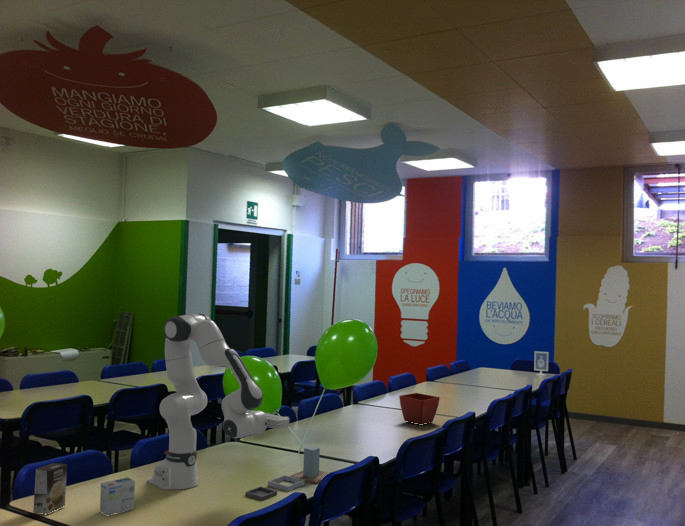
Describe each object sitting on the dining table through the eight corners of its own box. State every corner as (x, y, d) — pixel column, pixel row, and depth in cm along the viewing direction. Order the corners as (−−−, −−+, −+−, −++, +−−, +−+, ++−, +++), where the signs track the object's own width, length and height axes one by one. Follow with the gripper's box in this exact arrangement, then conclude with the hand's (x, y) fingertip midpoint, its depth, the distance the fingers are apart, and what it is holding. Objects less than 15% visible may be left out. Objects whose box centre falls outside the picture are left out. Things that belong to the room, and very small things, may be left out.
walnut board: (290, 477, 272) (290, 475, 272) (309, 470, 283) (309, 468, 283) (315, 484, 264) (315, 481, 264) (334, 476, 275) (334, 474, 275)
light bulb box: (126, 505, 233) (127, 476, 233) (134, 510, 228) (136, 480, 229) (98, 511, 225) (100, 482, 226) (106, 517, 221) (107, 486, 221)
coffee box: (47, 516, 220) (49, 470, 220) (32, 513, 222) (34, 468, 222) (65, 507, 229) (67, 464, 229) (51, 505, 230) (53, 462, 231)
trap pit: (245, 495, 247) (245, 492, 247) (260, 490, 254) (260, 486, 254) (262, 500, 242) (262, 496, 242) (276, 494, 249) (277, 490, 249)
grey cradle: (267, 485, 260) (268, 481, 260) (284, 479, 269) (284, 474, 269) (288, 491, 254) (288, 486, 254) (304, 484, 263) (304, 479, 263)
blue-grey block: (303, 475, 272) (304, 448, 273) (310, 473, 276) (310, 446, 277) (312, 477, 269) (313, 450, 270) (318, 475, 273) (319, 448, 274)
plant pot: (439, 423, 391) (440, 396, 392) (422, 427, 377) (422, 400, 378) (415, 418, 404) (416, 392, 405) (397, 422, 390) (398, 395, 391)
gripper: (277, 418, 243) (298, 412, 255) (239, 410, 255) (261, 405, 266) (276, 434, 243) (297, 428, 254) (238, 425, 254) (260, 420, 266)
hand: (278, 416), depth 260 cm, fingers open, 8 cm apart
